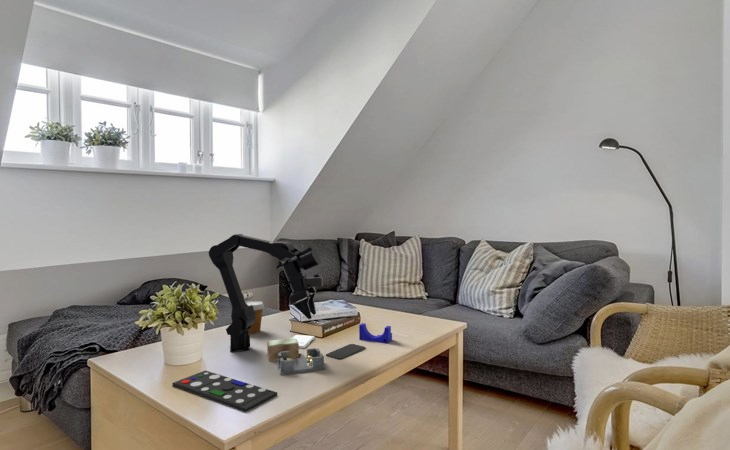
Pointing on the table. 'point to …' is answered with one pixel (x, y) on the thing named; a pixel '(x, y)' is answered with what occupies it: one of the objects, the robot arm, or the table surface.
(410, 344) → the table surface
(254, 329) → the disposable coffee cup
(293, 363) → the chassis
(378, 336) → the blue u-shaped cradle
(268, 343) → the brown and green block
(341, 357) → the phone
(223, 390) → the remote control
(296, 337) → the external hard drive
